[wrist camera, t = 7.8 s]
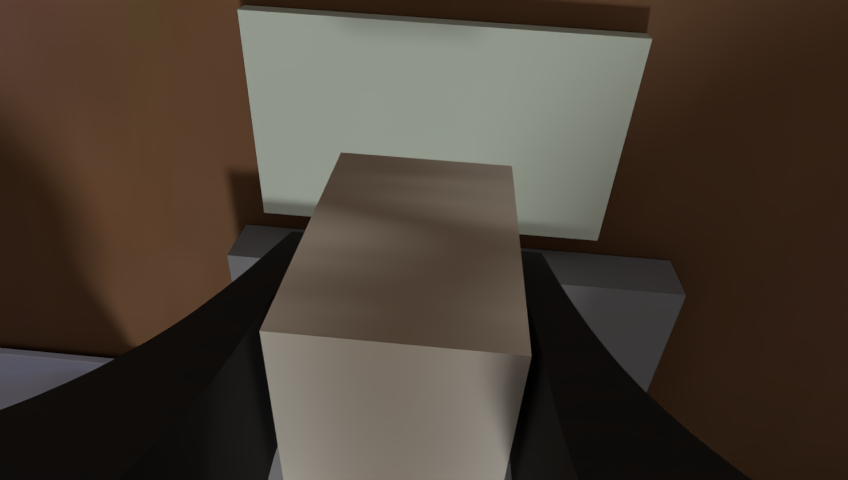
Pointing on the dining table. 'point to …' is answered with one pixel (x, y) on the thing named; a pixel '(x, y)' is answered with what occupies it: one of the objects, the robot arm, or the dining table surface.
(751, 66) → the dining table surface
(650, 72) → the dining table surface
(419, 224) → the cream block
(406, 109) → the green tile
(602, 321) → the holder plate
